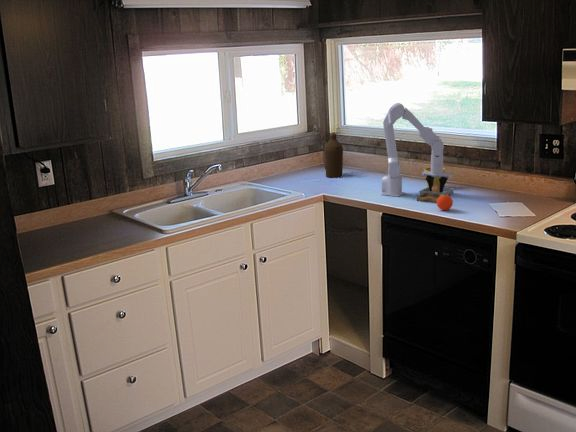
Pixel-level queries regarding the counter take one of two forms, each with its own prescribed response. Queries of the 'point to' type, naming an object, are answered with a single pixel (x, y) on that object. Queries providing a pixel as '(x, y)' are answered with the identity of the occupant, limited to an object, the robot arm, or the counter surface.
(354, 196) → the counter surface
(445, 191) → the dish
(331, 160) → the olive oil
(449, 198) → the clementine
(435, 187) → the ball
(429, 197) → the tray
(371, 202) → the counter surface
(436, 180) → the plant pot
